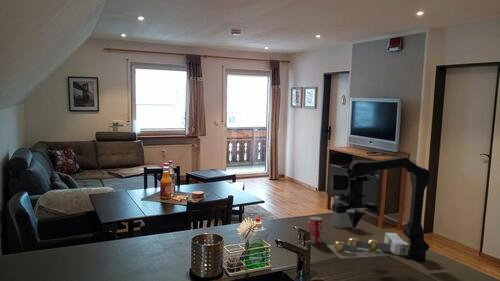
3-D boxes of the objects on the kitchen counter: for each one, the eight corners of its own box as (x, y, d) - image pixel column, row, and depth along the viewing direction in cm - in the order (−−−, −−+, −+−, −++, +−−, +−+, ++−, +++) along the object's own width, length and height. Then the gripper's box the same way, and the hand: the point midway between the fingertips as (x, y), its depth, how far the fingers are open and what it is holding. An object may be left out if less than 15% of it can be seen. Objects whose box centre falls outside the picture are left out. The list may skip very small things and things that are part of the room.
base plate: (388, 257, 156) (388, 254, 156) (340, 260, 151) (340, 257, 151) (370, 245, 169) (370, 242, 169) (326, 247, 165) (326, 244, 165)
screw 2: (367, 249, 161) (367, 240, 161) (368, 245, 165) (368, 237, 165) (389, 252, 158) (390, 244, 157) (389, 249, 162) (390, 241, 161)
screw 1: (333, 250, 158) (334, 242, 157) (335, 247, 161) (335, 239, 161) (355, 254, 154) (356, 246, 154) (356, 251, 158) (357, 243, 158)
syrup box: (395, 244, 171) (408, 257, 157) (383, 244, 171) (394, 256, 157) (396, 232, 171) (409, 244, 156) (384, 232, 171) (395, 244, 156)
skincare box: (340, 229, 190) (342, 199, 188) (330, 225, 196) (332, 196, 194) (352, 227, 194) (354, 197, 192) (342, 223, 200) (344, 194, 198)
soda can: (321, 240, 172) (322, 216, 171) (322, 246, 165) (324, 220, 164) (306, 239, 173) (307, 215, 172) (306, 245, 166) (308, 219, 165)
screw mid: (347, 247, 163) (347, 239, 162) (348, 244, 166) (349, 236, 166) (368, 251, 159) (369, 243, 158) (369, 248, 162) (370, 240, 162)
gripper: (366, 186, 162) (364, 220, 163) (327, 186, 158) (325, 222, 159) (380, 192, 151) (377, 229, 153) (338, 193, 147) (336, 230, 149)
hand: (353, 227), depth 154 cm, fingers closed
